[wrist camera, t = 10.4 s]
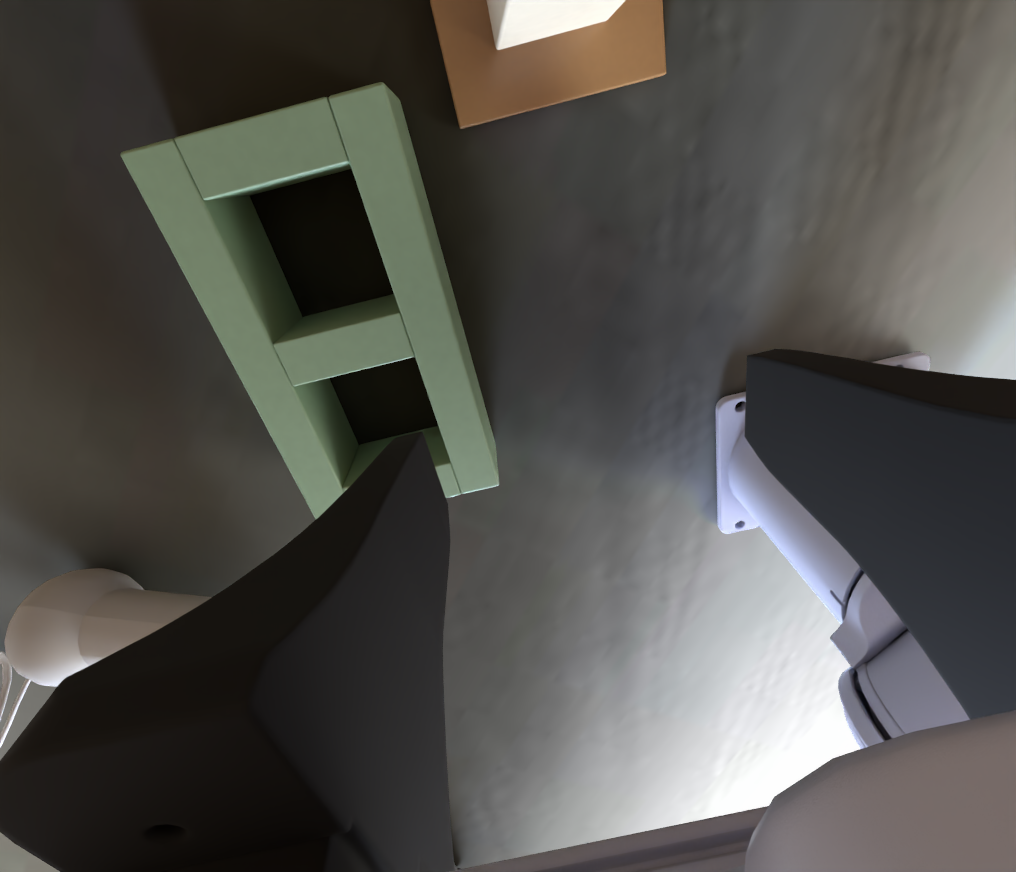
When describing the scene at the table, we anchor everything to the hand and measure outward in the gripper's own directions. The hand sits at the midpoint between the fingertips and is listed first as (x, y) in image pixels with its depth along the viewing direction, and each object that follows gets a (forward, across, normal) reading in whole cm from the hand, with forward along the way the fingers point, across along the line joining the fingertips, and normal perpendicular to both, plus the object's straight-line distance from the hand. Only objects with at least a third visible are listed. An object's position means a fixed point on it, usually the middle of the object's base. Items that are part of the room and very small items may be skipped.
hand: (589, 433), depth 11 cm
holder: (+10, +7, -1) cm, 12 cm away
